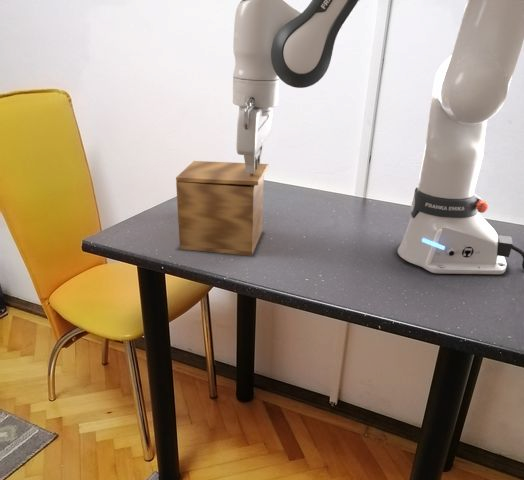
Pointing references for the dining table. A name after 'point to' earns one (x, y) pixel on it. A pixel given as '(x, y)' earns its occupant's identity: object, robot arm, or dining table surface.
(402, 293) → the dining table surface
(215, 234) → the chest
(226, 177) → the lid
